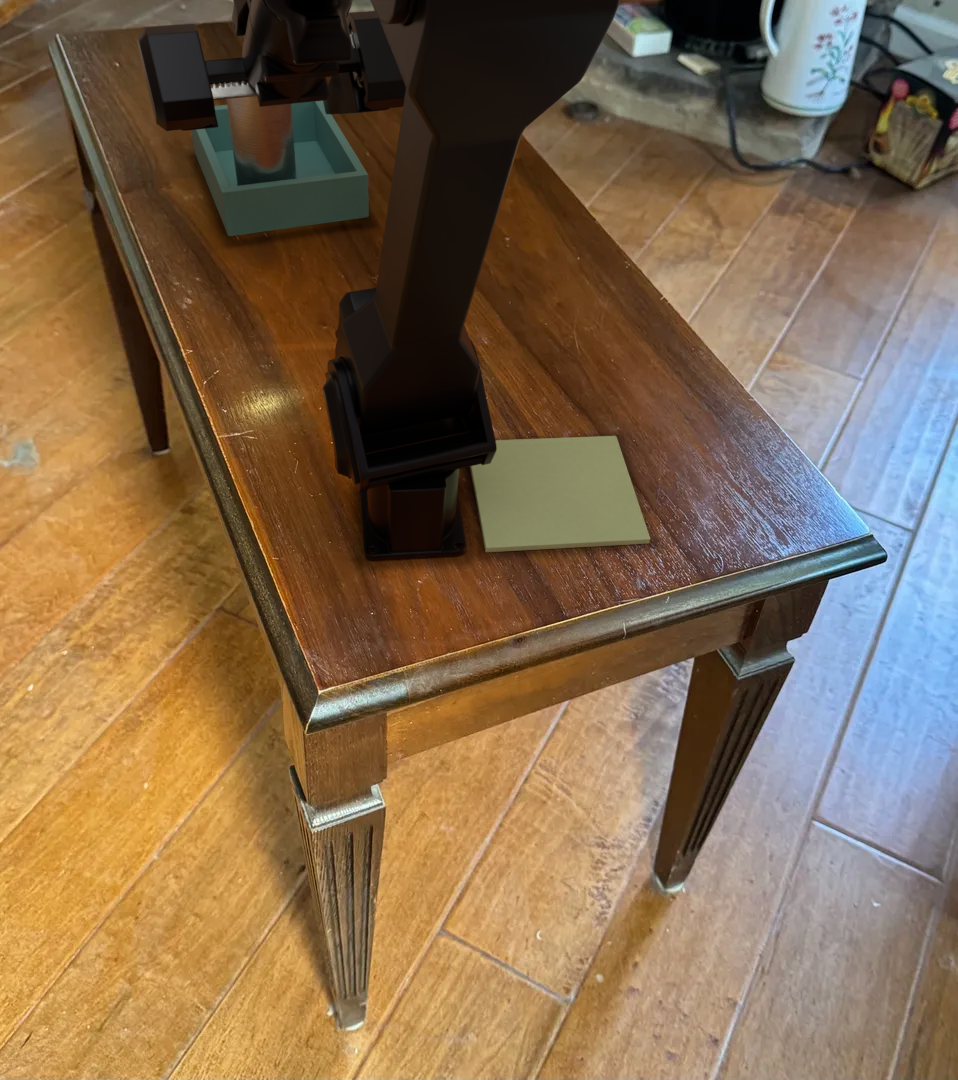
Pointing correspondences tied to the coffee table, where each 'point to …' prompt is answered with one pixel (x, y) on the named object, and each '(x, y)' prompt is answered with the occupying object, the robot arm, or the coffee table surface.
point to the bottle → (261, 141)
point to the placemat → (557, 495)
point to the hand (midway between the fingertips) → (270, 113)
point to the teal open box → (313, 198)
